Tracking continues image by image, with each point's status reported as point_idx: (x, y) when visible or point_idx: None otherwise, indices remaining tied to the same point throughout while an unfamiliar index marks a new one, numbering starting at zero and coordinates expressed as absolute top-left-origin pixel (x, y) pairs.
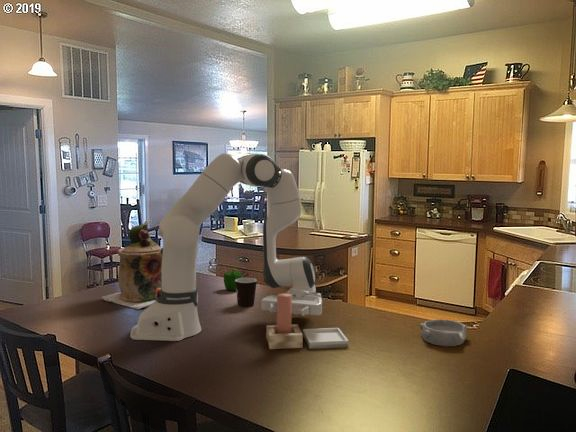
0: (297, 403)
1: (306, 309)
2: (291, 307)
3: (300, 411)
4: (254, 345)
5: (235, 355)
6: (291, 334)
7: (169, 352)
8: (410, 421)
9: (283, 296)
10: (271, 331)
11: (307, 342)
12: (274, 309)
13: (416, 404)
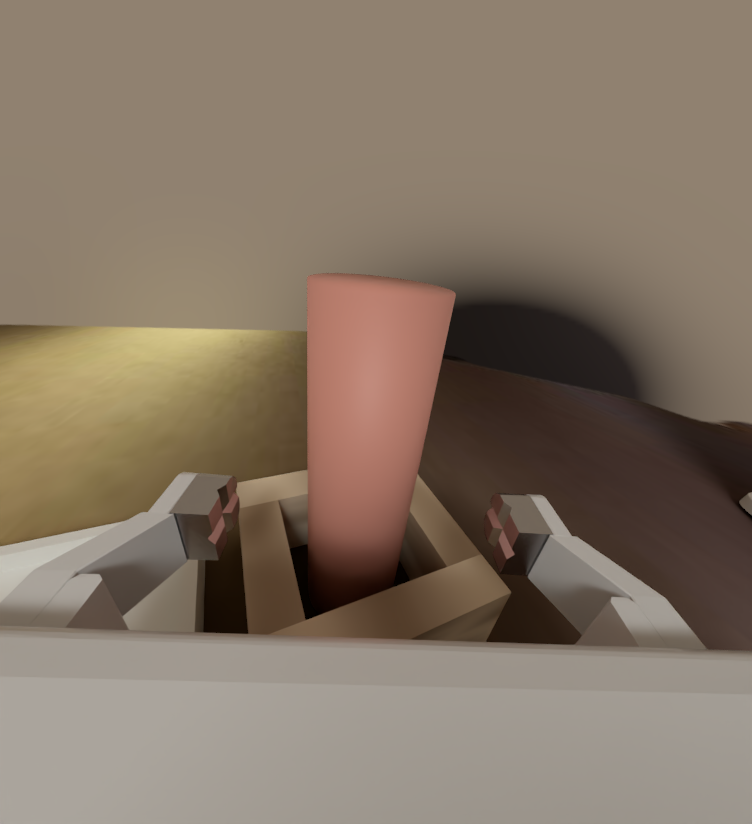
0: (277, 348)
1: (108, 544)
2: (307, 389)
3: (273, 341)
4: (470, 519)
5: (472, 446)
6: (301, 479)
7: (638, 442)
8: (108, 331)
9: (379, 278)
10: (418, 497)
11: (202, 577)
12: (493, 503)
13: (51, 346)
